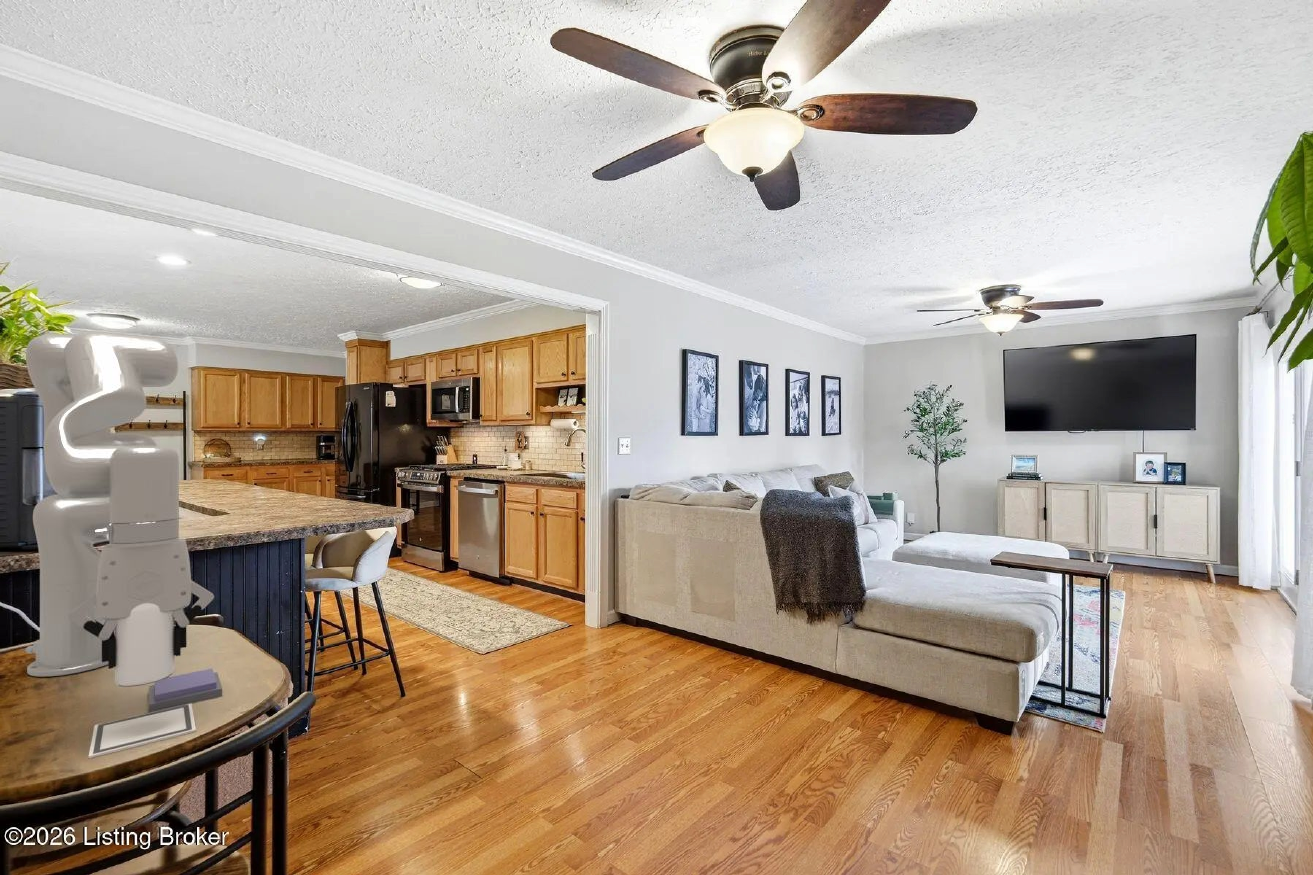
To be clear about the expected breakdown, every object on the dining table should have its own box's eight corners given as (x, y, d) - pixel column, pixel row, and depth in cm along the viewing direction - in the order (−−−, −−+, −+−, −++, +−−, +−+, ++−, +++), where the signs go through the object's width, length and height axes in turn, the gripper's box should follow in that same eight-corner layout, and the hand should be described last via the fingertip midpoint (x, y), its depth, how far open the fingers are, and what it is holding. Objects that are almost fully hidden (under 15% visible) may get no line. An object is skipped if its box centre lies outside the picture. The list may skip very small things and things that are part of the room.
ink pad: (148, 712, 90) (148, 697, 90) (148, 693, 97) (148, 679, 97) (222, 695, 96) (222, 682, 96) (217, 678, 103) (217, 666, 103)
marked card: (88, 758, 77) (88, 755, 77) (94, 727, 86) (94, 724, 86) (195, 731, 85) (195, 728, 85) (191, 705, 93) (191, 702, 93)
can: (106, 691, 81) (105, 601, 81) (125, 674, 87) (125, 591, 87) (165, 682, 83) (165, 596, 83) (181, 667, 89) (180, 586, 89)
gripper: (56, 543, 77) (56, 683, 77) (222, 529, 88) (223, 652, 88) (62, 536, 83) (62, 667, 82) (218, 524, 94) (218, 639, 94)
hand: (145, 658), depth 85 cm, fingers closed on can, 6 cm apart
